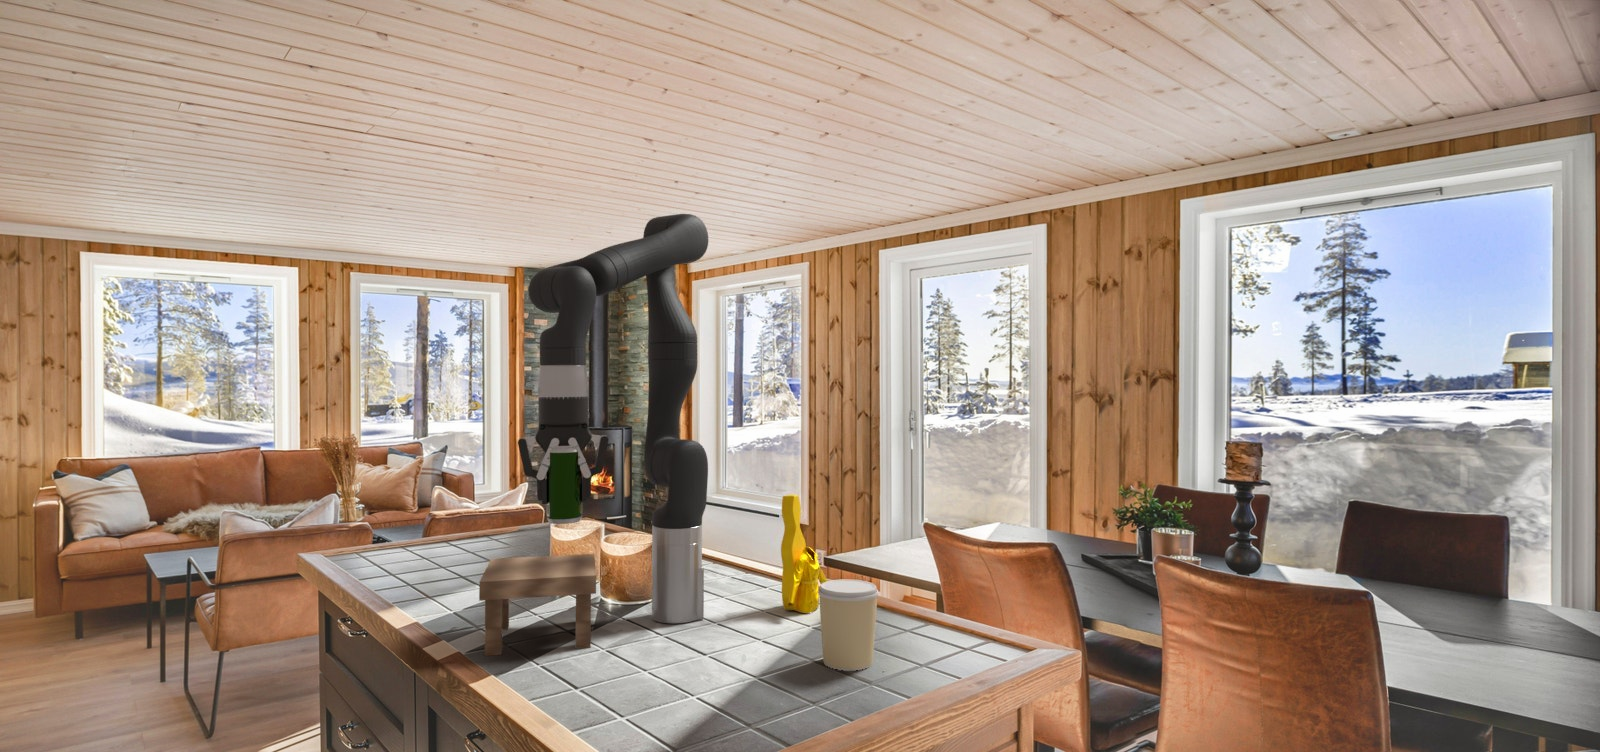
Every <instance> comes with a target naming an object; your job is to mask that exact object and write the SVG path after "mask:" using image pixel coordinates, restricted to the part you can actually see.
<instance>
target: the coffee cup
mask: <svg viewBox="0 0 1600 752" xmlns="http://www.w3.org/2000/svg"><path fill="white" fill-rule="evenodd" d="M818 593H819V614H820V615H819V617H820V631H821V632H820V633H821V645H822V646H821V649H822V658H823V664H824V665H825V666H826V667H827V666H828V668H829V667H830V669H832V668H833V669H832V670H835V669H838V670H837V671H841V670H843V671H844V672H855V671H856V670H858V671H862V669H863V670H866V669H865V668H867V669H869V668H870V667H871V666H873V662H874V661H873V660H874V651H875V634H876V620H877V607H878V605H877V603H878V596H879V590H878V588H877V585H876V584H875V583H873V582H870V581H866V580H861V579H852V578H851V579H850V578H849V579H846V578H845V579H832V580H827V582H824V583H822V584H820V586H819V590H818ZM868 667H869V668H868ZM856 672H857V671H856Z"/></svg>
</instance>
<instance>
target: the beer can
mask: <svg viewBox="0 0 1600 752" xmlns="http://www.w3.org/2000/svg"><path fill="white" fill-rule="evenodd" d="M574 447H575V446H574V445H573V446H570V445H561V446H554V447H553V448H554V449H552V450H551V452H550V466H549V467H548V470H547V473H546V475H545V478H546V480H547V504H546V520H547V521H548V523H549V524H552V525H554V524H555V525H569V524H575V523H579V522H580V521H582V520H581V519H582V518H583V502H582V477H583V474H582V472H581V470H580V465H579V464H578V451H577V449H576V448H574ZM579 458H580V456H579ZM548 459H549V457H548Z"/></svg>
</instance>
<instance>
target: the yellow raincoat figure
mask: <svg viewBox="0 0 1600 752" xmlns="http://www.w3.org/2000/svg"><path fill="white" fill-rule="evenodd" d="M781 514H782V515H781V516H782V519H783V521H782V522H783V525H784V531H783V532H784V533H783V536H782V540H781V545H780V555H781V562H782V576H781V577H782V579H781V598H782V605H783V606H782V607H783V610H785V611H796V612H799V613H803V614H811V613H810V612H812V613H813V612H815V611H816V610H817V608H819V607H820V597H819V593H818V590H819V588H820V586H819V583H820V585H821V584H822V583H824V582H827V581H828V579H827V577H826V575H825V574H824V571H823V570H822V569H821V566H820V564H819V561H818V558H819V555H818V554H817V553H816V552H815V551H814V550H813V548H811V547H810V546H807V544H806V539H805V537H804V534H803V532H802V529H801V525H800V524H801V517H802V515H801V514H802V506H801V501H800V497H799V494H786V495H782V502H781ZM814 610H815V611H814Z"/></svg>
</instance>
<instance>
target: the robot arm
mask: <svg viewBox="0 0 1600 752" xmlns="http://www.w3.org/2000/svg"><path fill="white" fill-rule="evenodd" d="M644 227H645V228H644V229H643V237H641V238H638V239H633V240H630V241H629V240H628V241H624V242H621V243H617V244H613V245H610V246H607V247H605V248H601V249H600V250H597V251H595V252H593V253H590V254H588V255H586V256H584V257H581V258H578V259H574V260H569V261H565V262H563V263H557V264H555V265H554V264H553V265H552V266H548V267H546V268H543V269H541V270H539V271H538V272H537V273H535V274H534V276H533V277H532V278H531V280H530V281H529V285H528V296H529V297H528V298H529V300H530V303H532V305H533V306H534V308H537V309H538V310H540V311H542V312H543V313H550V314H558V315H557V318H556V321H555V324H554V325H552V326H550V327H548V328H546V329H544V330H543V331H542V332H541V333H540V336H539V373H538V379H537V381H538V382H537V383H538V384H537V394H538V395H537V397H538V401H537V403H538V404H537V406H538V407H537V408H538V429H537V432H536V433H535V435H534V436H533V435H532V436H527V437H520V438H519V439H518V441H517V446H518V449H519V454H520V460H521V463H522V464H521V465H522V468H523V473H524V475H525V476H526V477H529V478H534V479H535V480H536V486H537V487H536V489H537V494H536V497H537V500H538V502H539V501H541V505H547V480H546V473H547V470H548V467H549V466H550V452H551V450H552V449H554V448H553V447H554V446H561V445H570V446H573V445H574V446H575V447H574V448H576V449H577V451H578V464H579V465H580V470H581V472H582V503H587V502H588V501H587V499H591V496H592V482H591V481H592V477H594V476H596V475H598V474H602V472H603V470H604V465H605V460H606V455H607V449H608V444H609V438H608V436H607V435H605V434H602V435H598V434H593V433H592V432H591V430H590V428H589V390H590V389H589V378H588V372H587V371H588V370H587V339H588V338H587V337H588V333H589V332H590V331H589V330H590V327H591V323H592V318H593V315H594V312H595V311H594V310H595V305H596V301H597V297H601V296H605V295H607V294H610V293H612V292H614V291H617V290H618V289H621V288H623V287H625V286H627V285H629V284H630V283H633V282H635V281H637V280H639V279H641V278H644V277H645V281H646V289H647V290H646V292H647V293H646V294H647V316H648V319H647V320H648V329H647V331H648V337H647V361H648V363H647V364H648V397H647V398H648V399H647V401H648V403H647V419H646V430H645V431H646V432H645V443H644V452H643V453H644V454H643V456H644V457H643V465H644V467H643V468H644V471H645V474H646V477H647V479H648V480H649V481H650V482H651V483H652V484H653V485H655V486H657V487H661V488H668V491H667V499H666V502H665V503H664V505H662V506H659V507H657V508H655V509H654V510H653V512H652V515H651V517H652V518H651V519H652V520H651V521H652V522H651V523H652V525H651V526H652V527H651V530H652V531H651V532H652V534H651V535H652V536H651V539H652V540H651V541H652V543H651V545H652V547H651V548H652V549H651V558H652V559H651V619H652V620H653V621H655V622H658V623H662V624H686V623H690V622H694V621H698V620H704V614H705V613H704V604H705V603H704V602H705V601H704V599H705V595H704V593H705V591H704V590H705V587H704V585H705V584H704V583H705V576H704V575H705V574H704V572H705V569H704V566H703V565H702V564H703V515H704V513H705V510H706V507H707V501H708V500H707V499H708V498H707V497H708V496H707V495H708V482H709V480H708V479H709V462H708V455H707V452H706V449H705V448H704V446H703V445H702V444H701V443H699V442H698V441H697V440H693V439H692V440H691V439H684V438H683V439H681V438H680V419H681V413H682V412H681V411H682V407H683V405H684V402H685V399H686V398H687V396H688V393H689V391H690V389H691V387H692V384H693V382H694V380H695V377H696V373H697V370H698V334H697V331H696V327H695V326H694V324H693V321H692V320H691V317H690V316H689V314H688V313H687V310H686V309H685V307H684V305H683V303H682V301H681V299H680V297H679V294H678V292H677V286H676V285H677V284H676V275H675V274H676V273H675V270H676V267H675V266H676V265H684V264H691V263H695V262H696V261H699V260H700V259H701V258H703V257H704V255H705V254H706V252H707V250H708V247H709V233H708V229H707V227H706V224H705V223H704V221H703V220H702V219H701V218H700V217H698V216H697V215H694V214H691V213H679V214H678V213H676V214H670V215H664V216H663V215H661V216H656V217H653V218H651V219H649V221H647V223H646V225H645V226H644ZM591 441H592V442H593V447H594V448H595V449H597V452H596V457H595V462H594V465H593V466H591V467H589V465H588V463H587V461H586V458H585V457H584V454H583V451H584V450H585V449H586V447H588V445H589V443H590V442H591ZM535 443H537V445H539V447H540V448H541V449H542V451H543V452H544V453H545V454H544V456H543V459H542V461H541V464H540V466H539V468H538V469H536V468H534V467H533V463H532V459H531V458H532V457H531V453H530V452H531V451H532V450H533V448H534V444H535ZM579 456H580V458H579ZM548 457H549V459H548Z"/></svg>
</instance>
